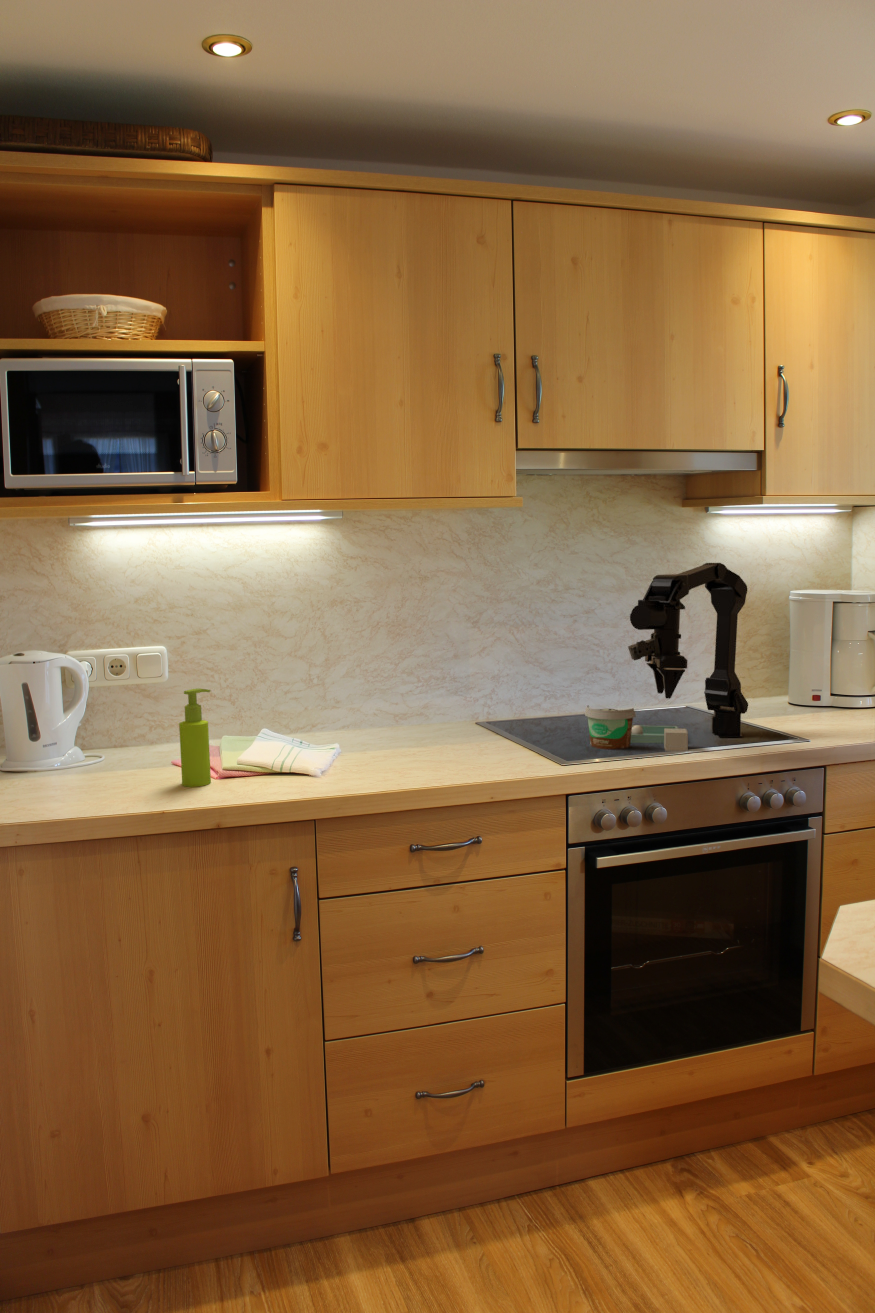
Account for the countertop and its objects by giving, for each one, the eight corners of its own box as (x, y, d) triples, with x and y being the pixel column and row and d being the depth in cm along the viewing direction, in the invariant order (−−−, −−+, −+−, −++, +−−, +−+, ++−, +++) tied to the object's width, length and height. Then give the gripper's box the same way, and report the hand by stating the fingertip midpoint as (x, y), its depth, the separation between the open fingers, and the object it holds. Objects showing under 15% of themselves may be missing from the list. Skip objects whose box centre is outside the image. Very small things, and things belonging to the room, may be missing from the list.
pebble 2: (643, 738, 232) (643, 727, 231) (643, 740, 229) (643, 729, 229) (631, 738, 232) (631, 727, 232) (631, 740, 230) (631, 729, 229)
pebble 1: (642, 735, 236) (642, 724, 235) (642, 737, 233) (642, 726, 233) (631, 734, 236) (631, 724, 236) (631, 737, 233) (631, 726, 233)
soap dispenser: (220, 781, 198) (216, 688, 196) (192, 788, 193) (187, 692, 191) (204, 777, 202) (200, 686, 200) (176, 784, 197) (171, 690, 194)
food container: (577, 750, 222) (577, 708, 221) (586, 745, 228) (586, 704, 227) (628, 754, 217) (628, 712, 216) (635, 749, 222) (635, 708, 221)
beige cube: (685, 749, 221) (685, 728, 221) (687, 754, 217) (687, 733, 216) (664, 749, 222) (664, 728, 222) (665, 753, 217) (665, 732, 217)
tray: (677, 735, 237) (677, 726, 237) (680, 746, 225) (680, 735, 225) (624, 735, 239) (624, 725, 239) (624, 744, 227) (625, 734, 227)
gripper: (625, 626, 226) (622, 690, 227) (638, 630, 207) (636, 700, 209) (671, 627, 226) (668, 691, 227) (689, 631, 207) (686, 701, 208)
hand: (663, 695), depth 218 cm, fingers open, 9 cm apart
